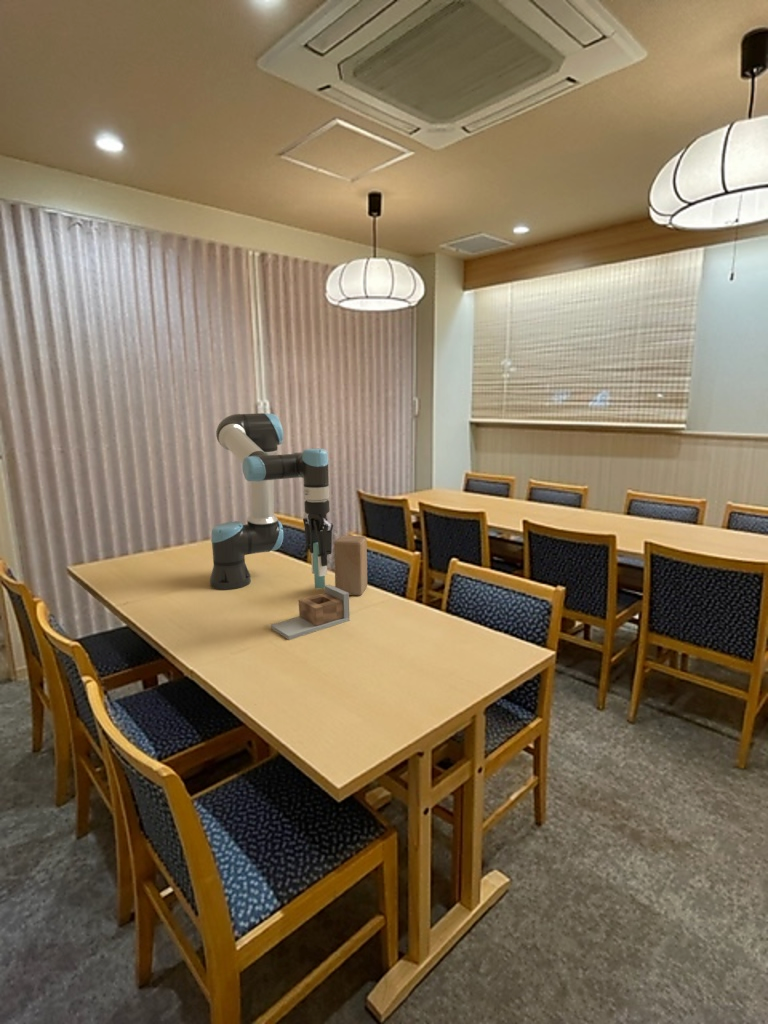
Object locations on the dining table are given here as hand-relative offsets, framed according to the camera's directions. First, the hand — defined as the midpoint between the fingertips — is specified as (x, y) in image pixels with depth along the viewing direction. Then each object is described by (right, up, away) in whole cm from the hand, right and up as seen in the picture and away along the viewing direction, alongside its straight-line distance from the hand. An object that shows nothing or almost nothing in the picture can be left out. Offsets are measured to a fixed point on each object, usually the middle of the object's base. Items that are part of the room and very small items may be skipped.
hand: (319, 573), depth 171 cm
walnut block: (0, -14, +3) cm, 14 cm away
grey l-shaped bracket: (-3, -16, +1) cm, 16 cm away
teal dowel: (0, -4, +1) cm, 4 cm away
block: (+8, -10, +31) cm, 33 cm away
